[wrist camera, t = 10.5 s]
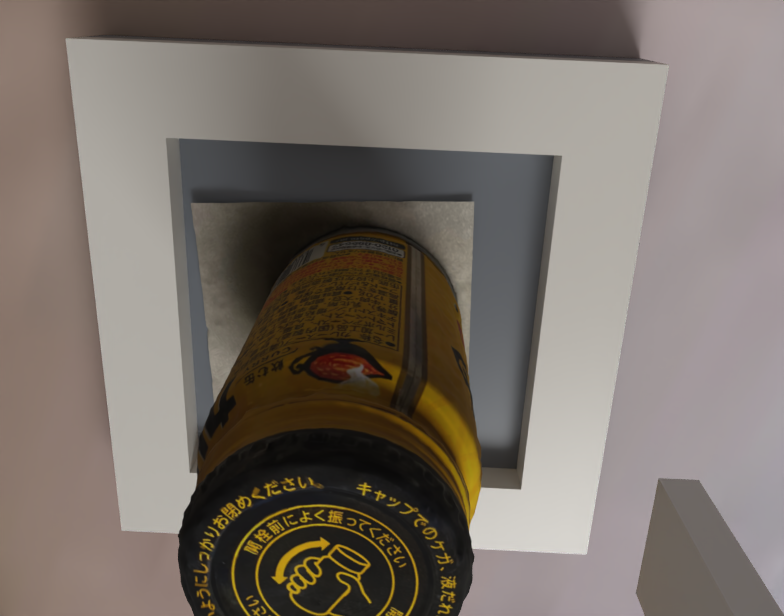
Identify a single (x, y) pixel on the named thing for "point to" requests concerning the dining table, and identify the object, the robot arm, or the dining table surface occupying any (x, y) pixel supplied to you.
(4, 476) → the dining table surface
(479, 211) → the pocket plate
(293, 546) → the condiment
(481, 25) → the dining table surface
